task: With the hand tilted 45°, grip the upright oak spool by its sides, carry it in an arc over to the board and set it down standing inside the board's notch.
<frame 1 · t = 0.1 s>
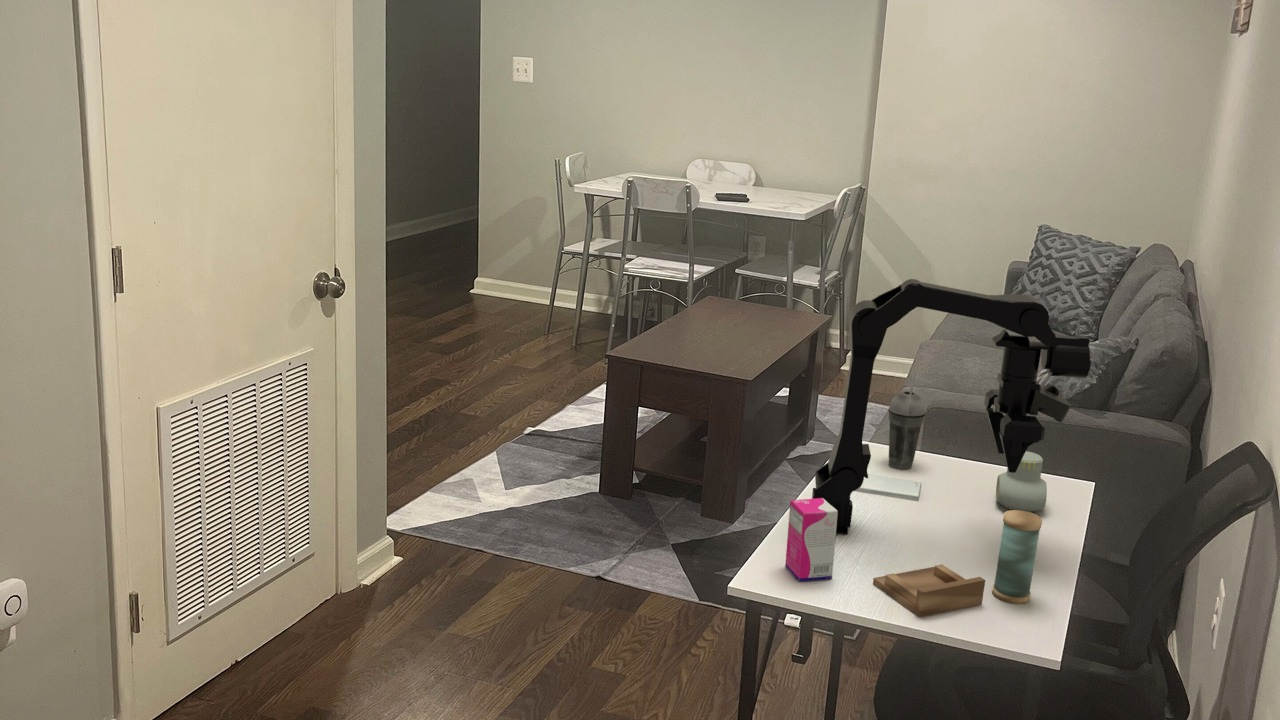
hand: (1006, 462, 185), 15 cm above the table, tool pointing down, fingers open, 9 cm apart
air freshener: (1018, 507, 206), on the table
hard drive: (885, 492, 211), on the table
oak spool: (1010, 595, 170), on the table
supplement box: (807, 573, 174), on the table
beverage cup: (900, 467, 223), on the table
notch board: (927, 594, 169), on the table
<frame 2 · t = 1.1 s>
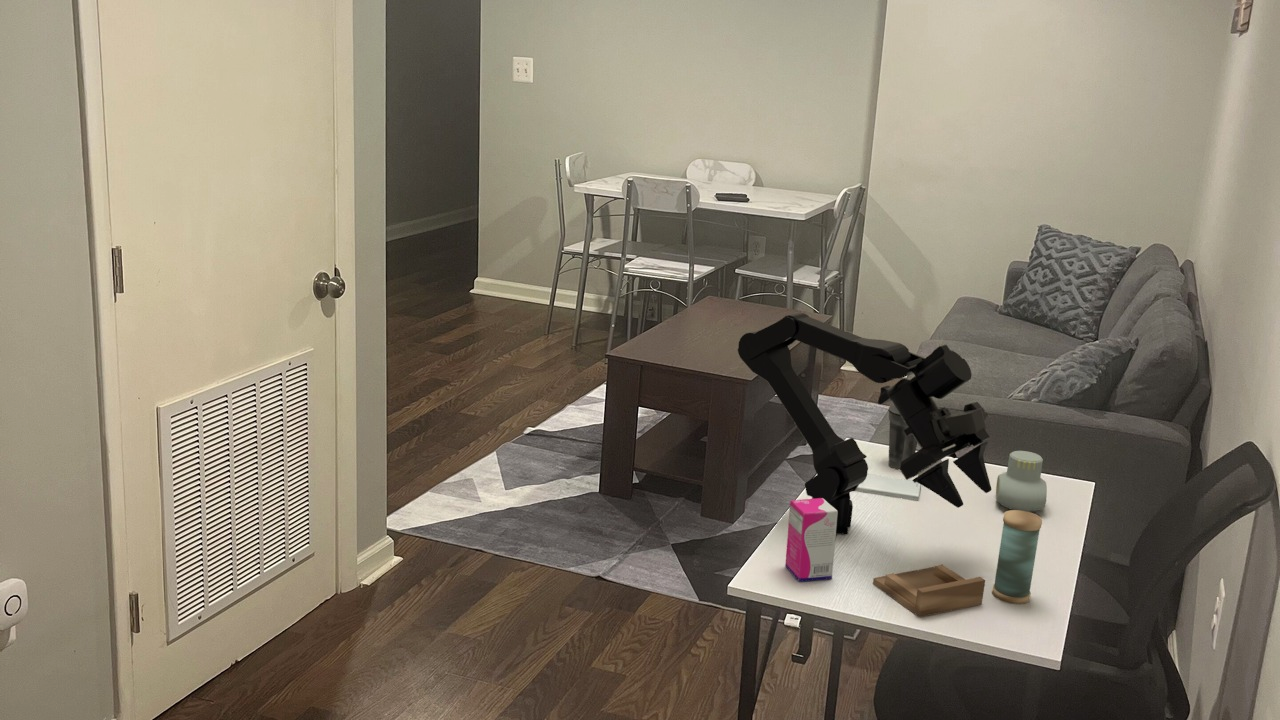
hand: (975, 498, 172), 13 cm above the table, tool tilted 45°, fingers open, 9 cm apart
nothing on the table moved.
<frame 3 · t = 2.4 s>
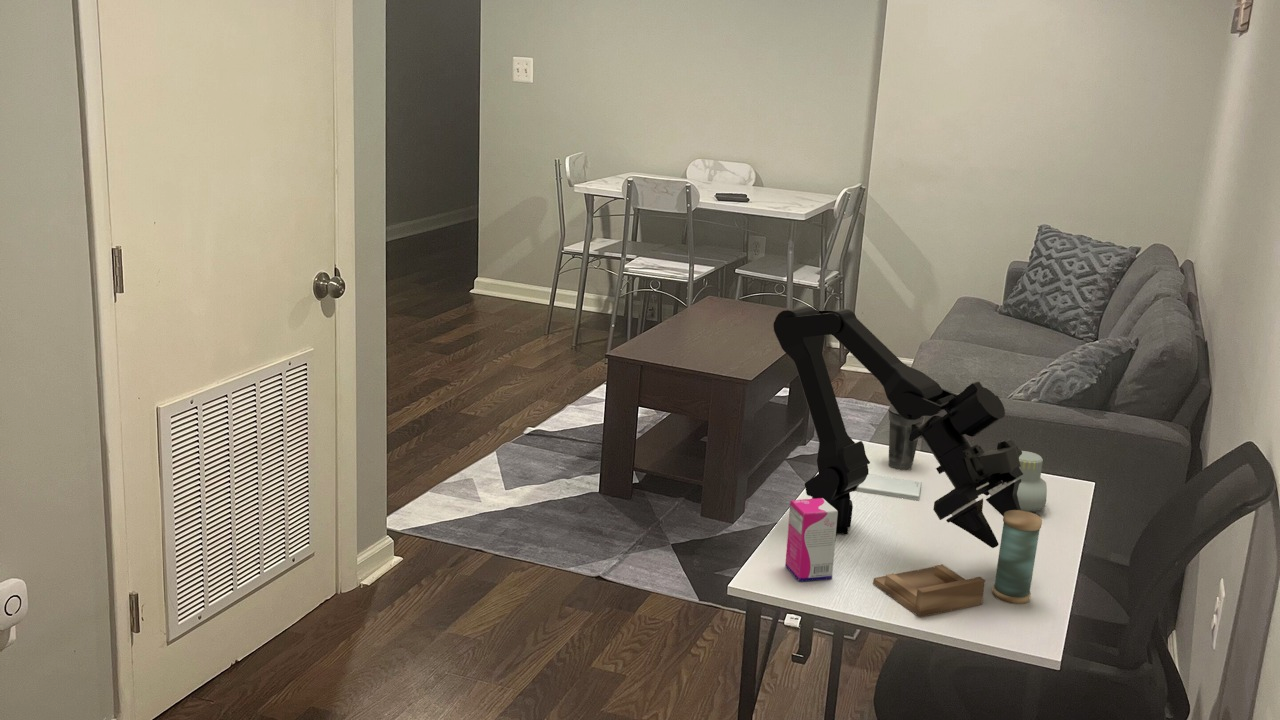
hand: (1010, 538, 169), 9 cm above the table, tool tilted 45°, fingers open, 9 cm apart
nothing on the table moved.
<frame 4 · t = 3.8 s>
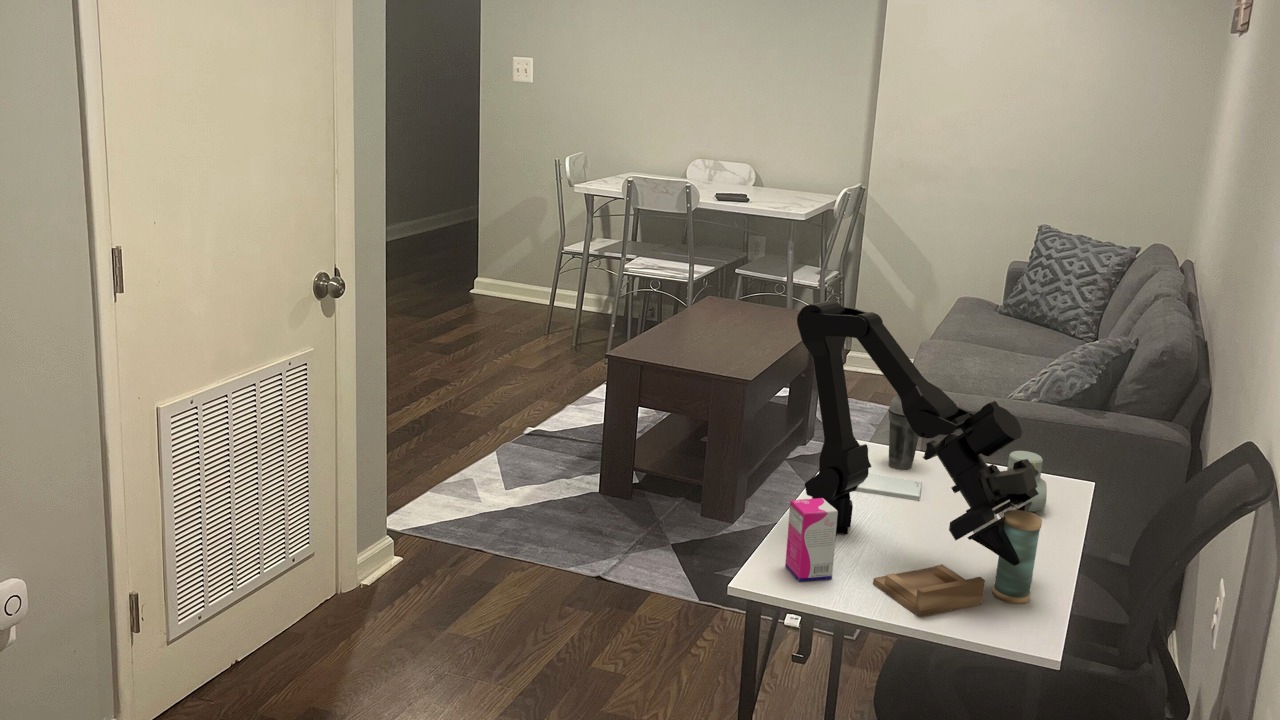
hand: (1025, 559, 168), 7 cm above the table, tool tilted 45°, fingers closed on oak spool, 5 cm apart
oak spool: (1010, 595, 170), on the table, touching gripper
everything else where it was.
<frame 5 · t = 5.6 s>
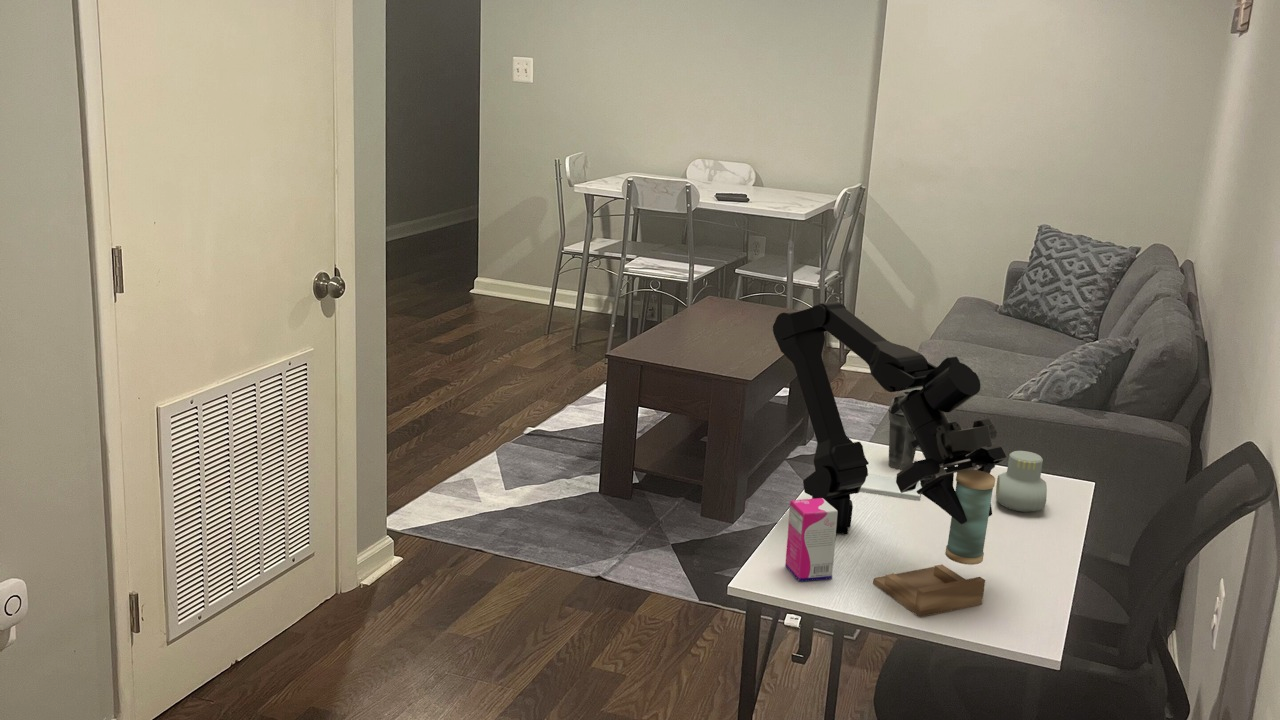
hand: (977, 519, 164), 13 cm above the table, tool tilted 45°, fingers closed on oak spool, 5 cm apart
oak spool: (963, 556, 167), point 7 cm above the table, touching gripper
everything else where it was.
when the fingers open (9 cm above the table, at t = 7.4 s): oak spool drops 1 cm, resting on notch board.
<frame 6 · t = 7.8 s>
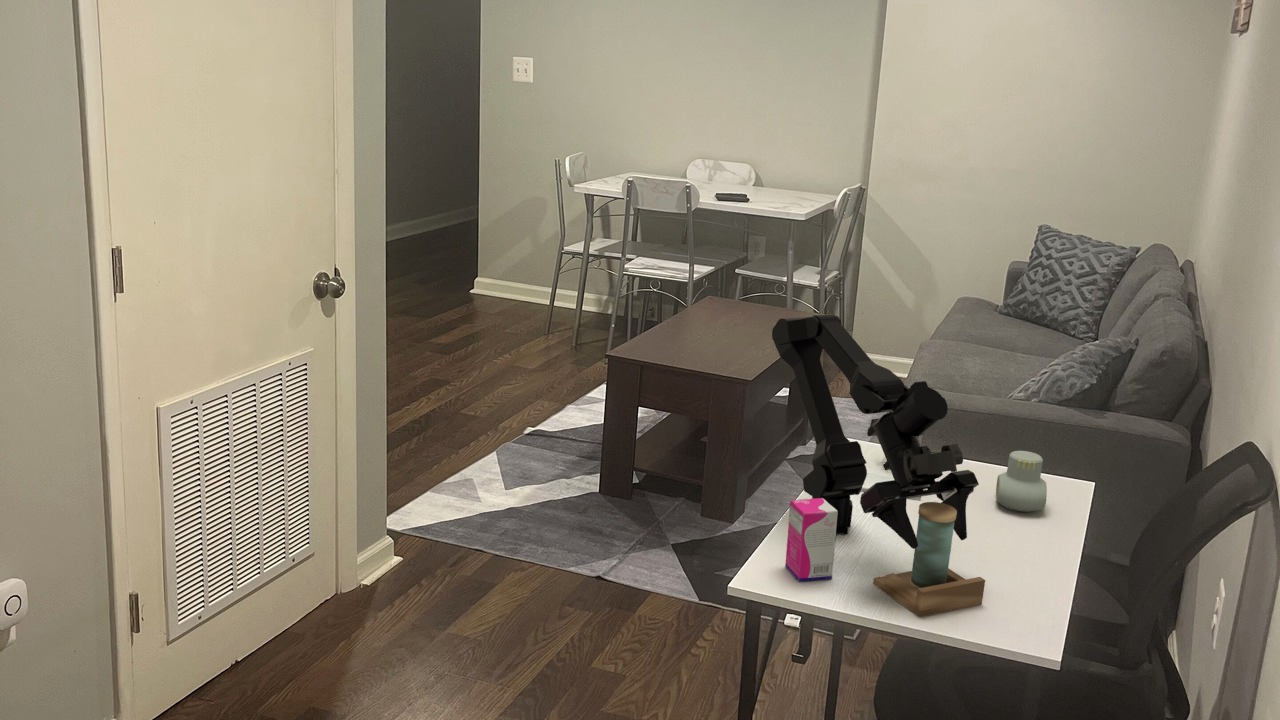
hand: (940, 543, 166), 9 cm above the table, tool tilted 45°, fingers open, 9 cm apart
oak spool: (927, 588, 169), point 1 cm above the table, touching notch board
everything else where it was.
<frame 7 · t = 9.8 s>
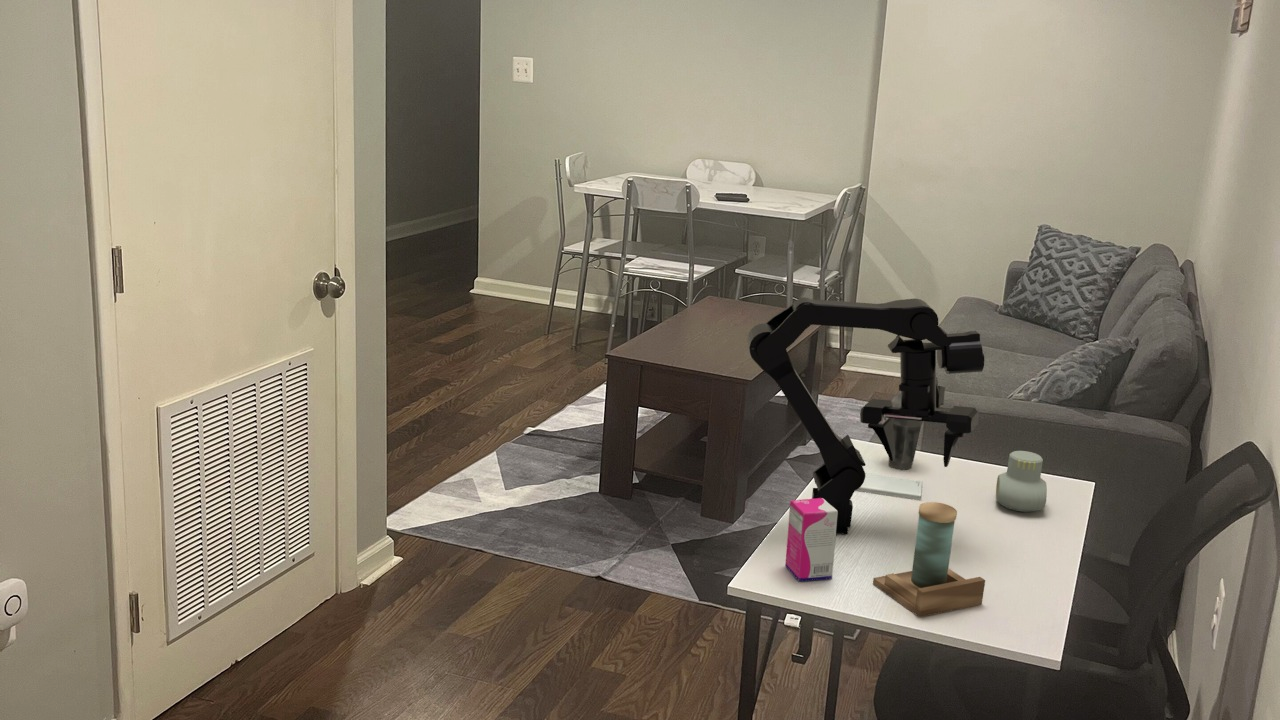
hand: (919, 463, 189), 13 cm above the table, tool pointing down, fingers open, 9 cm apart
nothing on the table moved.
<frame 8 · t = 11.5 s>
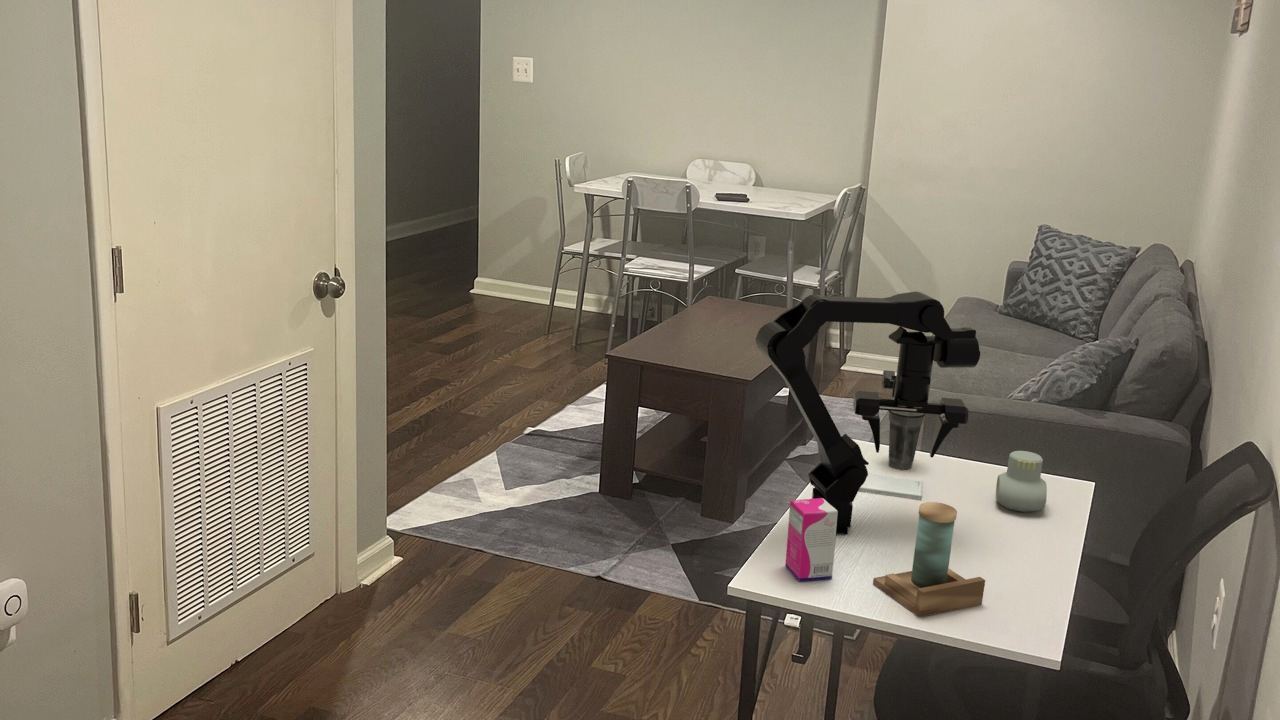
hand: (904, 454, 191), 13 cm above the table, tool pointing down, fingers open, 9 cm apart
nothing on the table moved.
at the end: oak spool 0.0 cm from the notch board (horizontally); oak spool tilted 0°; oak spool touching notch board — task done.
